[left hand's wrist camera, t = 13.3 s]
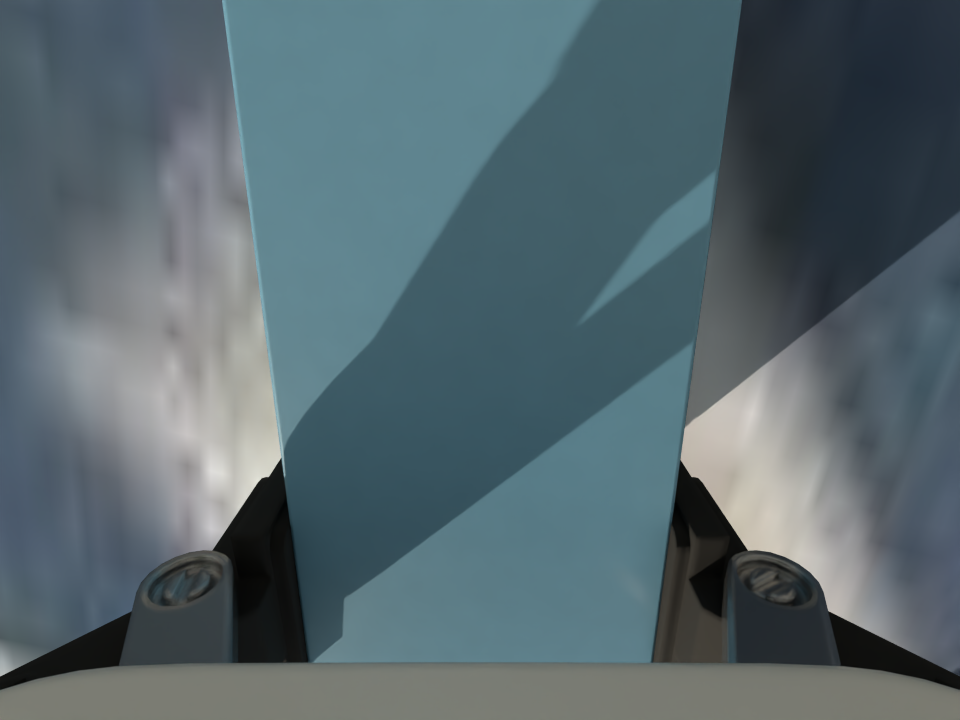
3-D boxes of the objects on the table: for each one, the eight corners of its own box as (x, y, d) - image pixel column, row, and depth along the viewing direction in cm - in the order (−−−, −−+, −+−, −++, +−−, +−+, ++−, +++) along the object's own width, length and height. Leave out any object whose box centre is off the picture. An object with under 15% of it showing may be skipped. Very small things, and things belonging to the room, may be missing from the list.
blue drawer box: (350, -79, 12) (158, -461, 5) (612, -78, 12) (808, -460, 5) (388, 529, 18) (321, 783, 10) (572, 529, 18) (638, 783, 10)
